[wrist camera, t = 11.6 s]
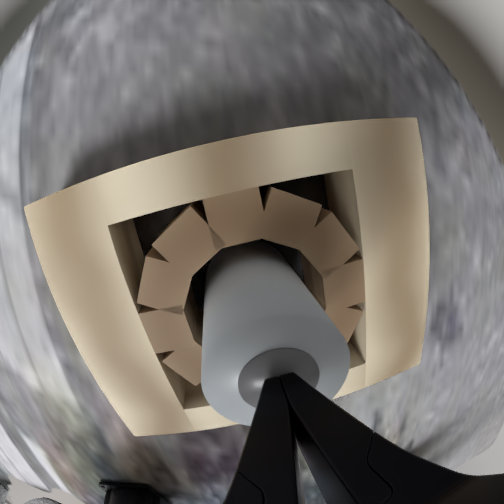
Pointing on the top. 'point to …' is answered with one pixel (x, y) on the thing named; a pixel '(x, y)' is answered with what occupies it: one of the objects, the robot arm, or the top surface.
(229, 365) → the cylinder
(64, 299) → the jig plate
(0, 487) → the spoon rest
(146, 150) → the top surface
